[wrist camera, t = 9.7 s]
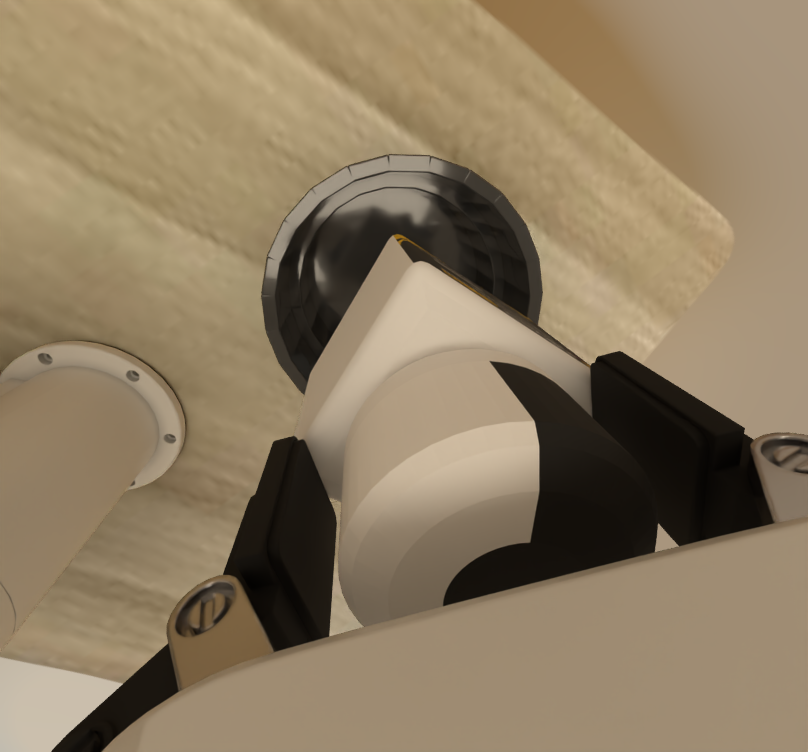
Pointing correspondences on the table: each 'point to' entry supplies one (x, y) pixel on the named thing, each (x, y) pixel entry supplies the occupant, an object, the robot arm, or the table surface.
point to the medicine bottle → (461, 447)
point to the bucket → (367, 236)
